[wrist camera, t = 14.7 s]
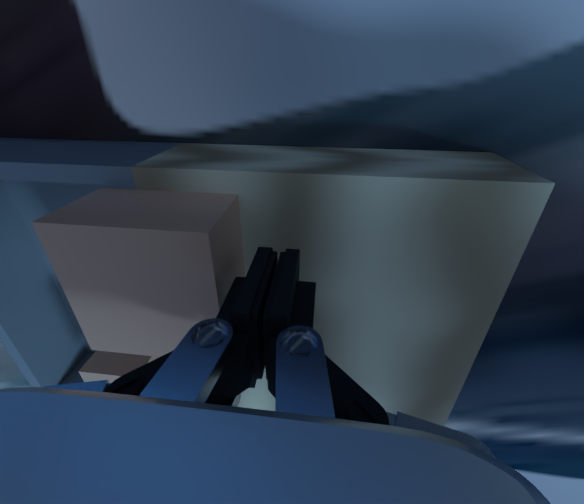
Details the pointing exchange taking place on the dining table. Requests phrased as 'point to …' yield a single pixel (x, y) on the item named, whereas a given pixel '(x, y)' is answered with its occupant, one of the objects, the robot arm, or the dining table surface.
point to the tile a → (111, 365)
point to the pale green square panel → (378, 251)
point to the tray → (31, 255)
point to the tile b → (144, 263)
